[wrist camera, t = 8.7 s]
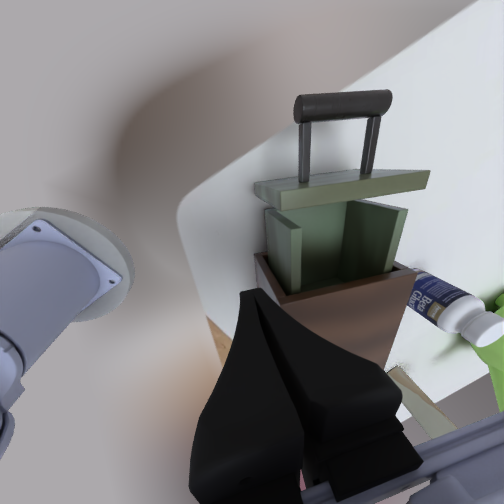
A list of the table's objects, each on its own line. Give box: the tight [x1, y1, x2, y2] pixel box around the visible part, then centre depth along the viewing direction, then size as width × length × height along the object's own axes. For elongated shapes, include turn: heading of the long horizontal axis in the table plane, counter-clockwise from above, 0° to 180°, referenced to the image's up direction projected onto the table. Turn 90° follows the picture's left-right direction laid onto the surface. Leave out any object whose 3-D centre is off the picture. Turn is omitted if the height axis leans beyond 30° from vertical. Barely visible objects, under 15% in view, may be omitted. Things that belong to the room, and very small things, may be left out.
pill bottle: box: [407, 269, 504, 347], centre depth 24 cm, size 5×5×10 cm
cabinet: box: [254, 251, 418, 370], centre depth 20 cm, size 14×12×9 cm
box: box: [387, 366, 458, 439], centre depth 35 cm, size 5×4×11 cm
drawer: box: [254, 89, 431, 296], centre depth 16 cm, size 17×10×7 cm, turn 6°
